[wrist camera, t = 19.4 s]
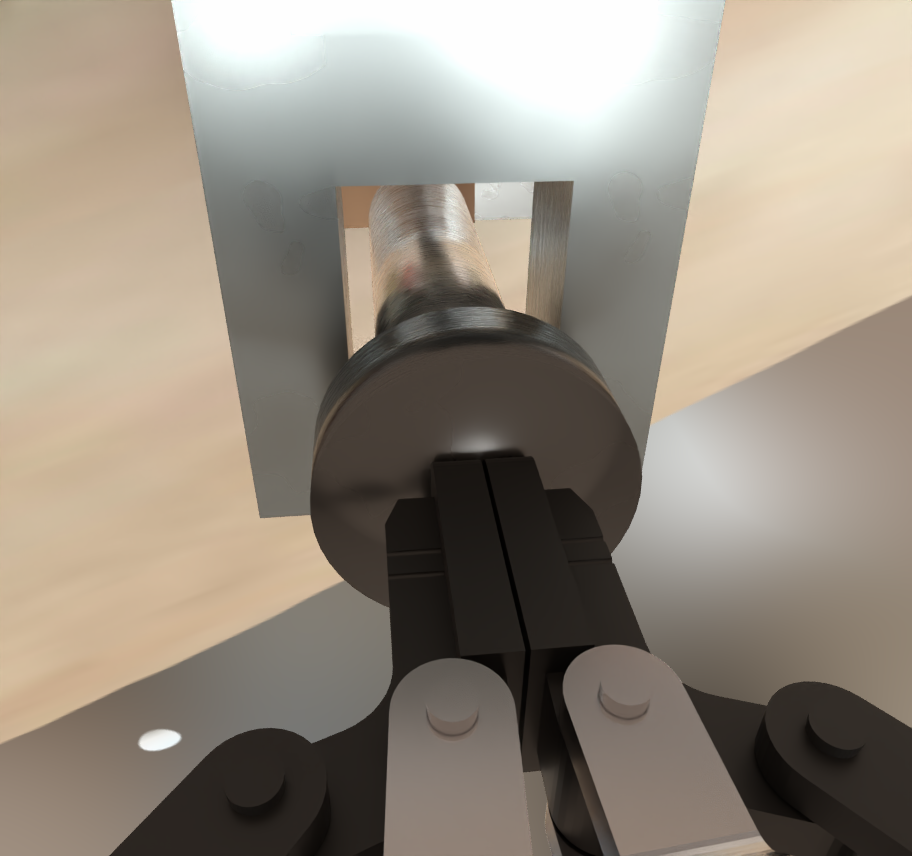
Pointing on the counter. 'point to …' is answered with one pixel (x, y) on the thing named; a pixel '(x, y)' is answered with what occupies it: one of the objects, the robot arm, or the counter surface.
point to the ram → (454, 391)
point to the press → (441, 173)
